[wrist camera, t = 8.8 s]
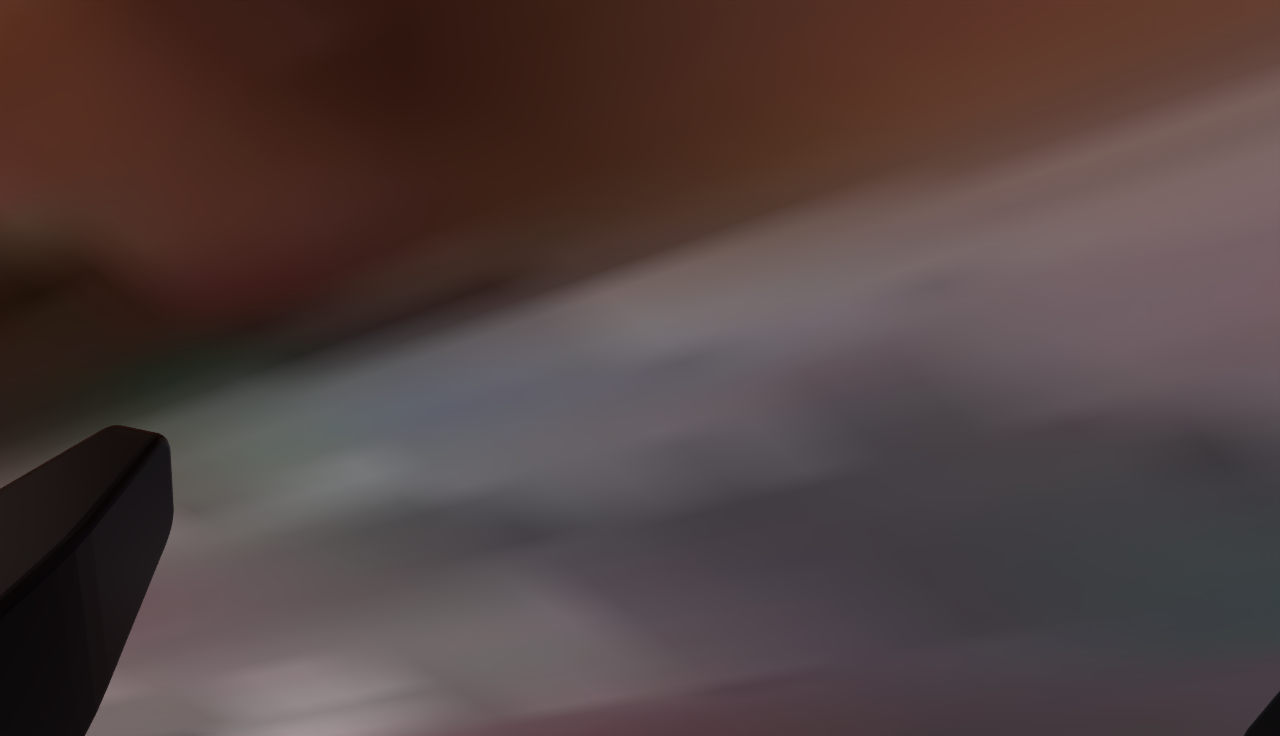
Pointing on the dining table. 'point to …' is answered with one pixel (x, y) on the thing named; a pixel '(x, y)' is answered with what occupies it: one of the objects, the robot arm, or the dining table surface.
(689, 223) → the dining table surface
